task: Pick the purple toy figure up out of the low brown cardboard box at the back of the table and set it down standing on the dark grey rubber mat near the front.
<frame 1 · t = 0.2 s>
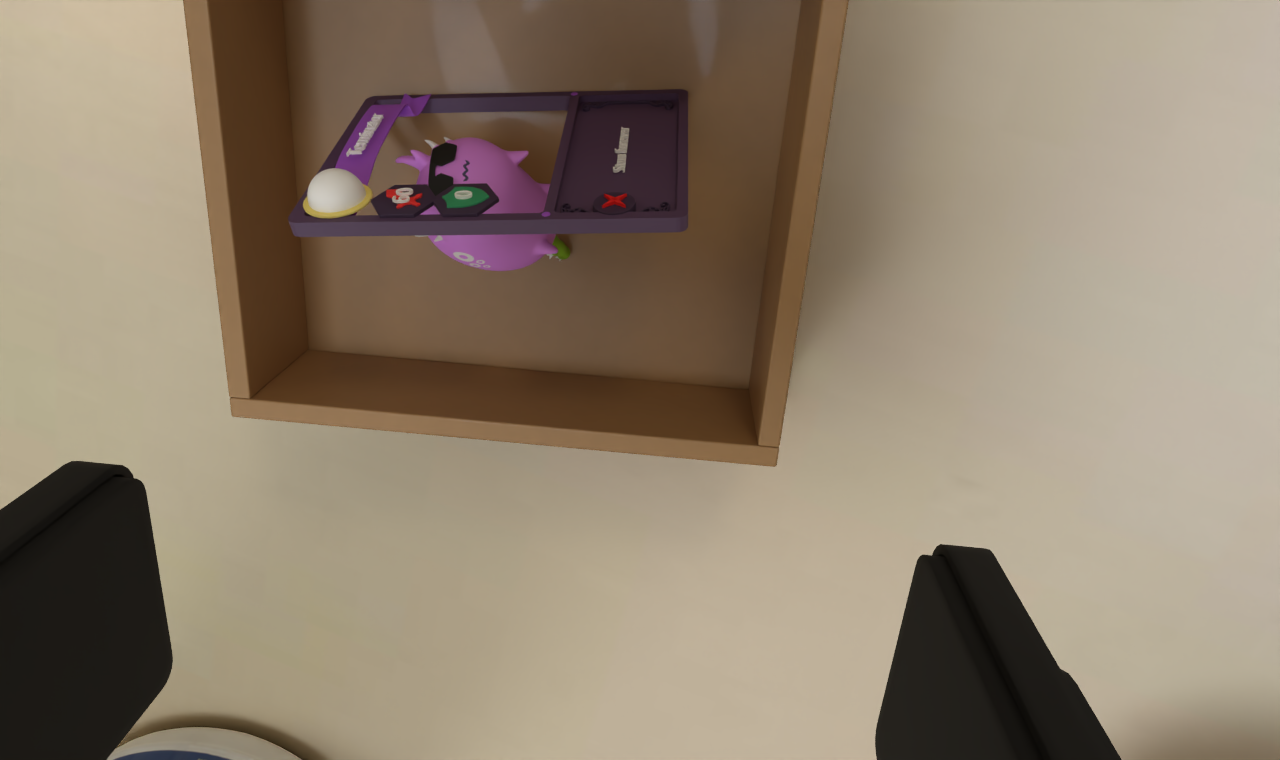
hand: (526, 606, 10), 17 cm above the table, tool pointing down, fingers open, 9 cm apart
purple toy figure: (534, 176, 25), resting on box
box: (534, 176, 25), on the table
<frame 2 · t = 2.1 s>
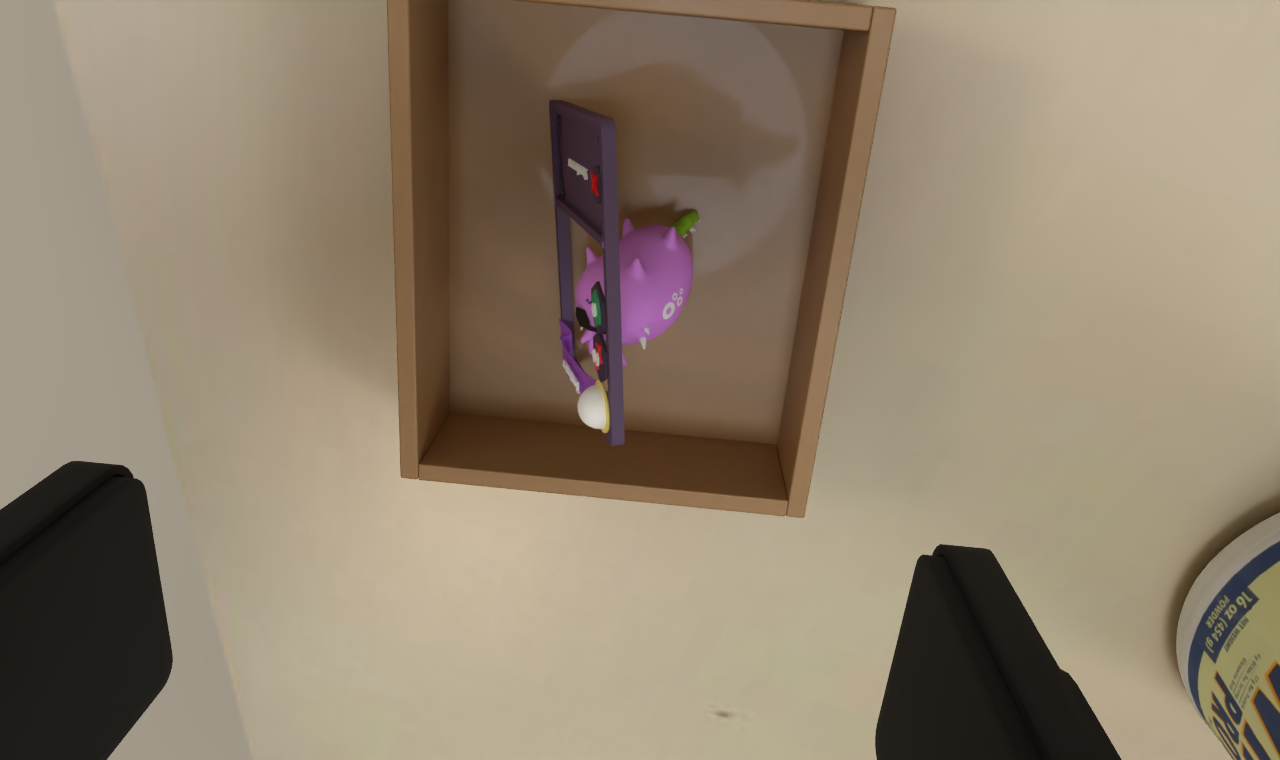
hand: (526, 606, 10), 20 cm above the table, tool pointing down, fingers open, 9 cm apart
purple toy figure: (627, 238, 29), resting on box
box: (628, 238, 29), on the table
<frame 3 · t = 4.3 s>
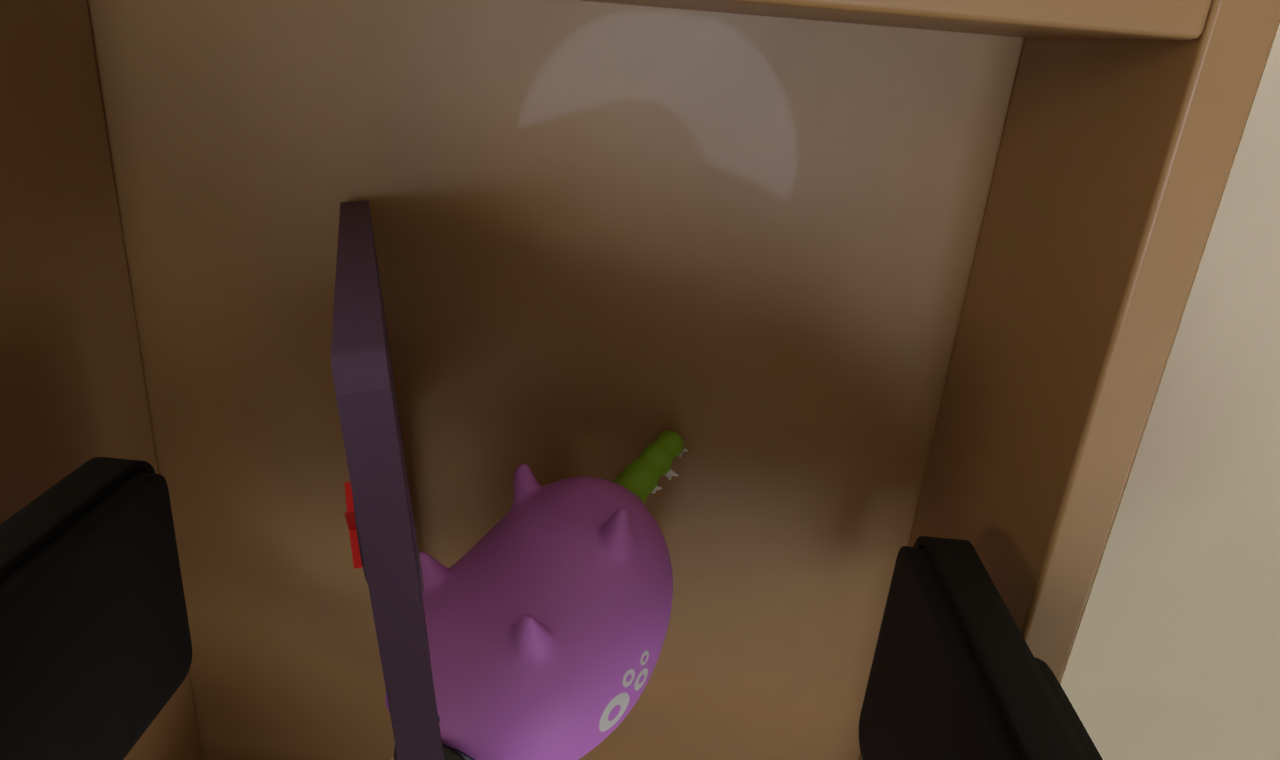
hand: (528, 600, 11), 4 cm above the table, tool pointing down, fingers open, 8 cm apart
purple toy figure: (536, 476, 14), resting on box
box: (537, 472, 14), on the table
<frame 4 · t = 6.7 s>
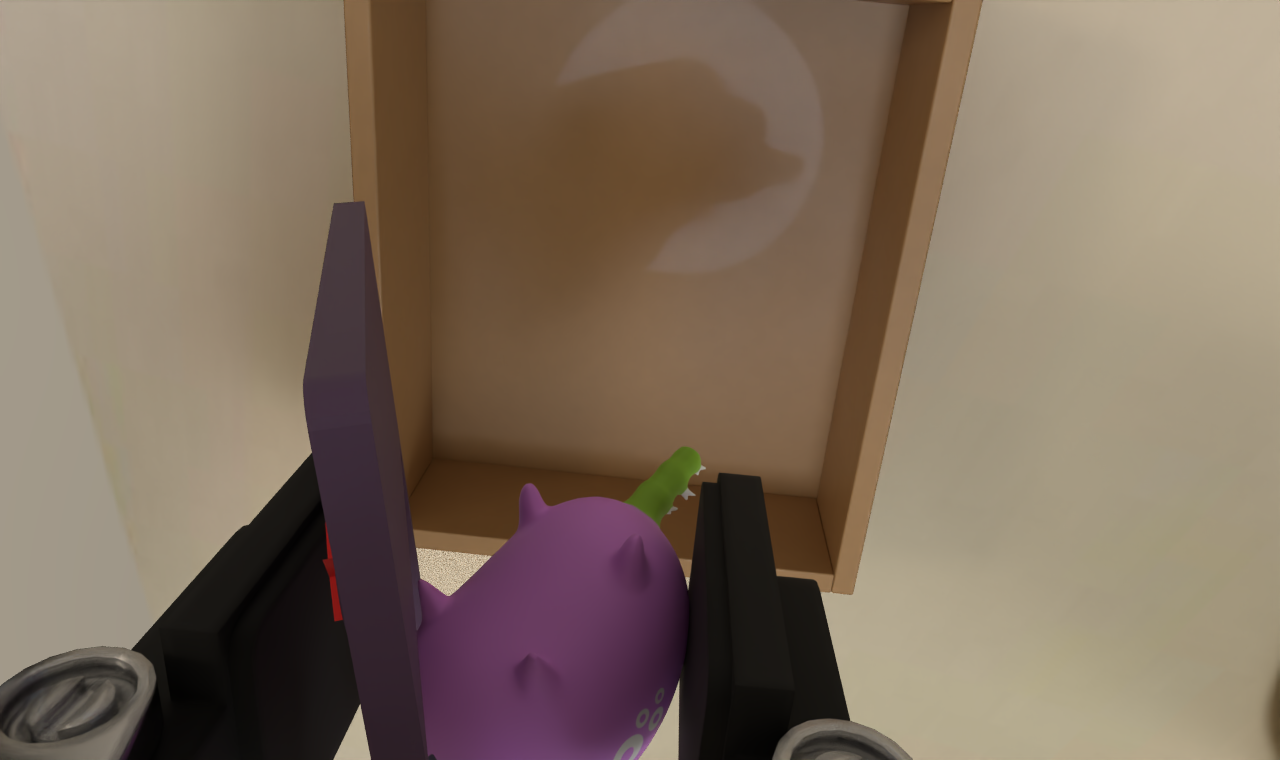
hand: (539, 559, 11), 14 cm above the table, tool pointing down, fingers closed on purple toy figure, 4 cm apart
purple toy figure: (544, 493, 13), point 13 cm above the table, touching gripper
box: (642, 256, 24), on the table
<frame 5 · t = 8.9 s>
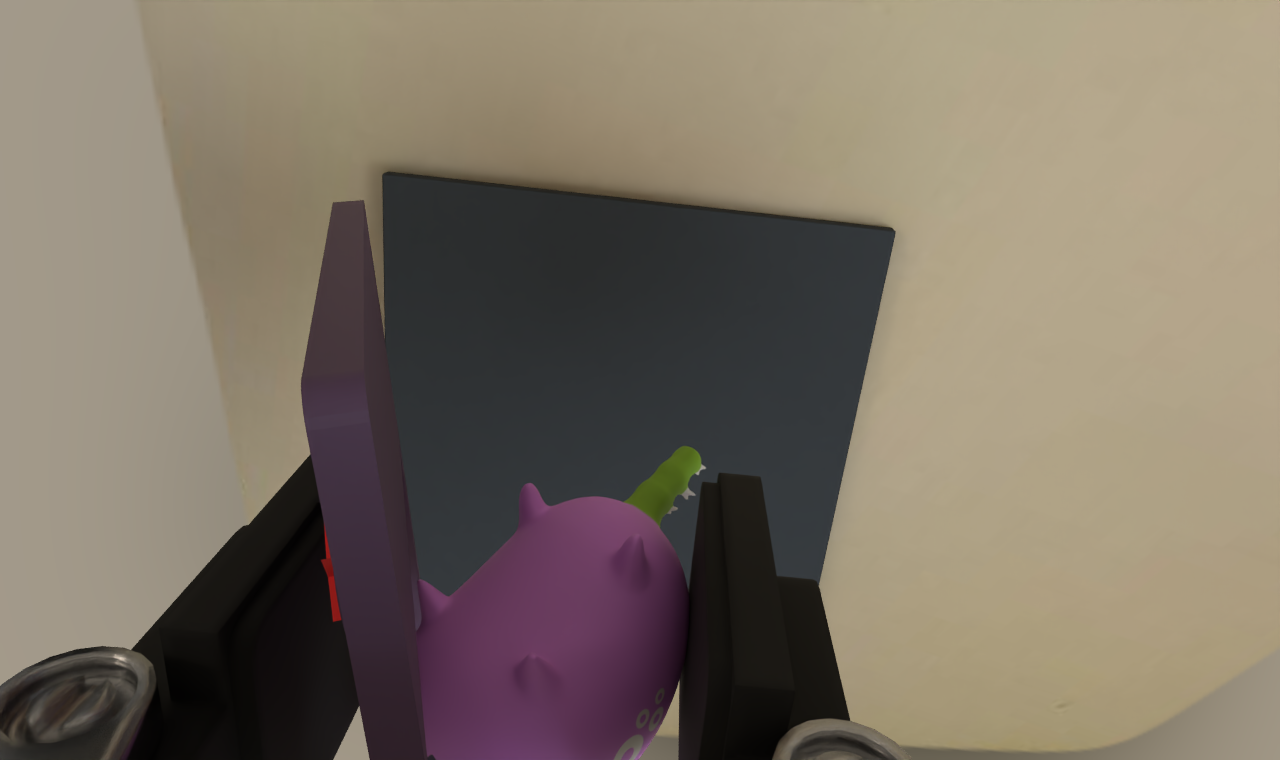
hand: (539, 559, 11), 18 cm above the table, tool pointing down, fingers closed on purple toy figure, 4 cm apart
purple toy figure: (543, 493, 13), point 16 cm above the table, touching gripper
mat: (616, 427, 30), on the table
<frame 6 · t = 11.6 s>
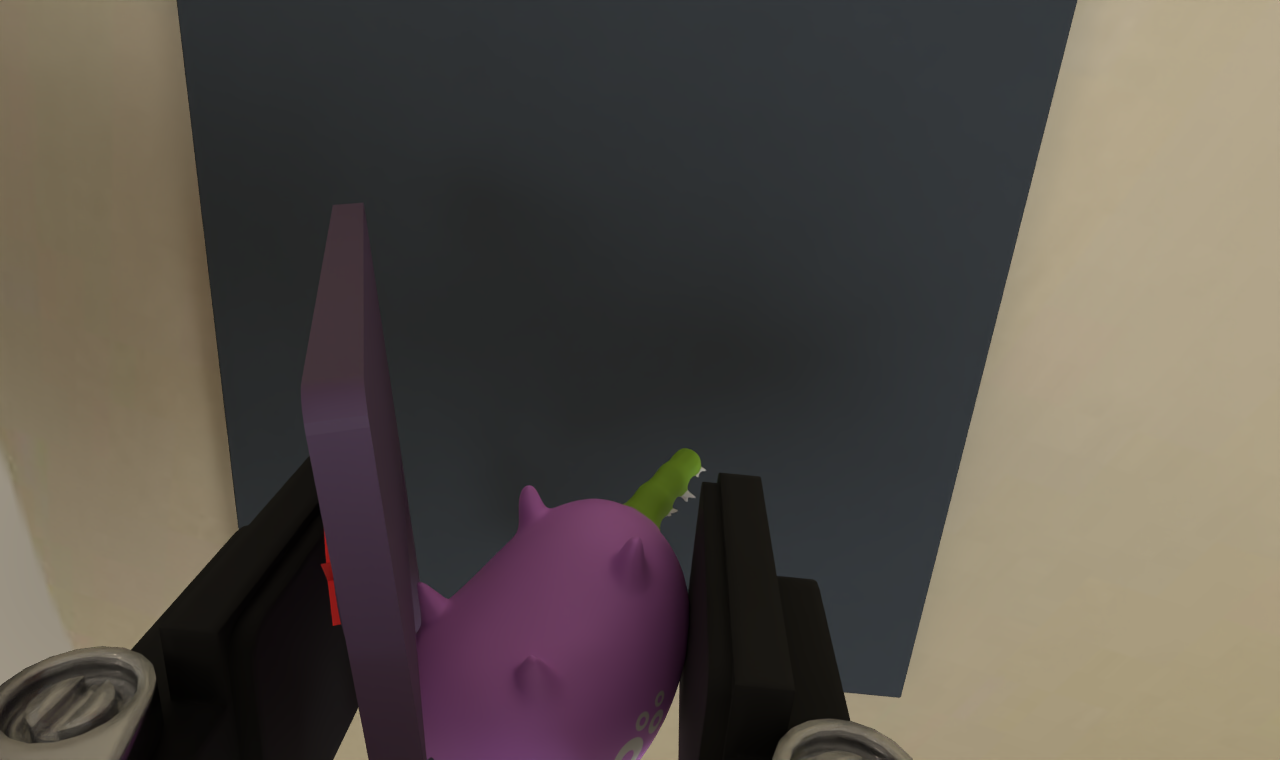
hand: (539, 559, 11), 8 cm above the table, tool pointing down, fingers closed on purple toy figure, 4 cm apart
purple toy figure: (543, 495, 13), point 6 cm above the table, touching gripper
mat: (595, 354, 18), on the table
when the fingers open (2 cm above the table, at t = 13.2 s): purple toy figure stays where it is, resting on mat.
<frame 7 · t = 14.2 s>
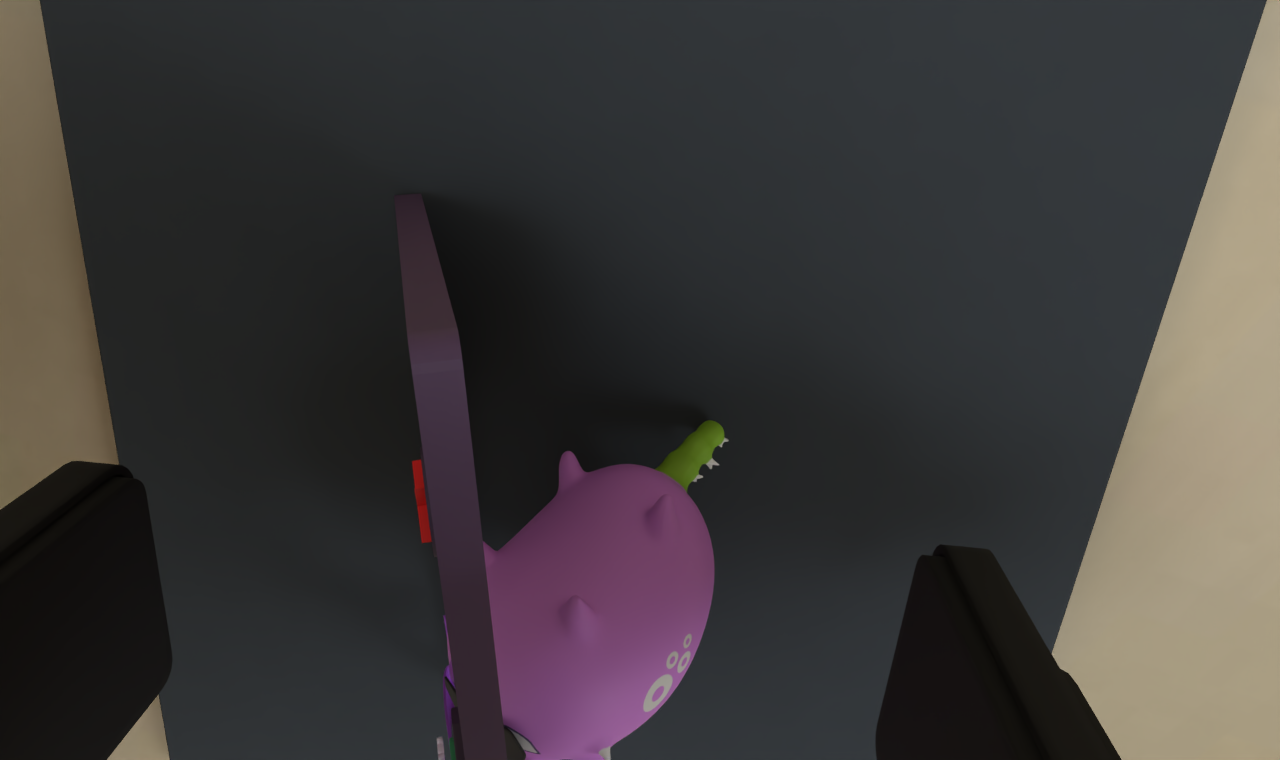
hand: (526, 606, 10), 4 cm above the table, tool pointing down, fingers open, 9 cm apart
purple toy figure: (578, 464, 14), resting on mat
mat: (597, 456, 14), on the table
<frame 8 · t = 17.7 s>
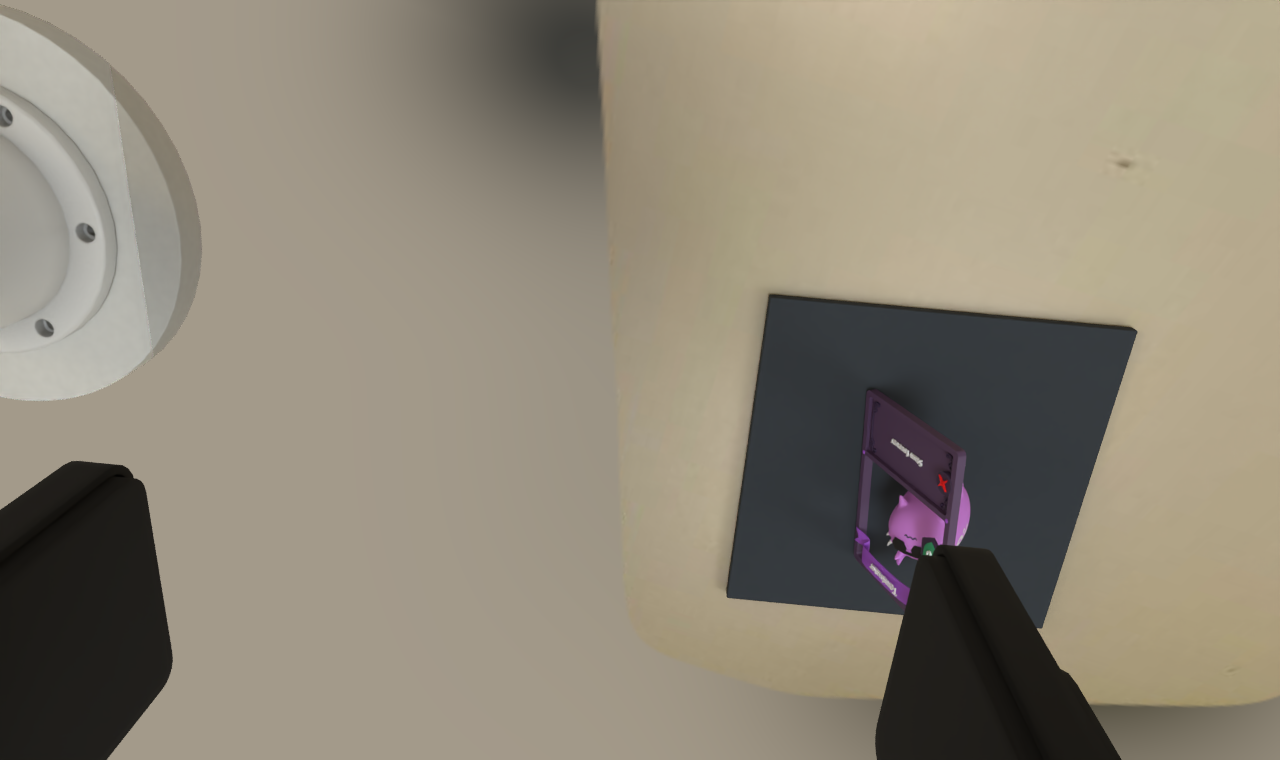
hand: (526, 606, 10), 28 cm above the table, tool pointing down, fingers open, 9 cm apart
purple toy figure: (909, 473, 41), resting on mat
mat: (913, 470, 41), on the table
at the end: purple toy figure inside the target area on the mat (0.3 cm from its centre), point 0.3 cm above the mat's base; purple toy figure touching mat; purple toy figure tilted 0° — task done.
